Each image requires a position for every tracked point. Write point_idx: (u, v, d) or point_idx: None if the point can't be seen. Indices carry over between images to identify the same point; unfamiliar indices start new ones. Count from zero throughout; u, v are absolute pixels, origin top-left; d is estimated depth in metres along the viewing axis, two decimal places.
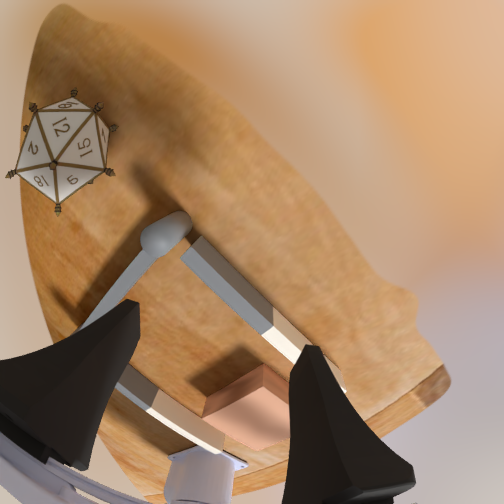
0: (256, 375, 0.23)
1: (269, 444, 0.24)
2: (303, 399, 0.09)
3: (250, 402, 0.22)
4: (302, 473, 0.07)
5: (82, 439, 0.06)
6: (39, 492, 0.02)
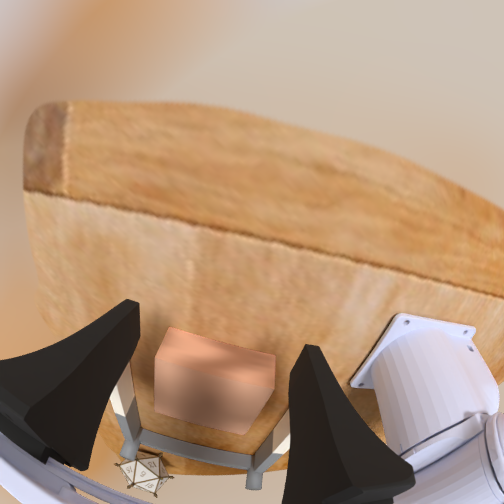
0: None
1: (241, 385, 0.16)
2: (303, 399, 0.09)
3: (180, 414, 0.19)
4: (302, 473, 0.07)
5: (82, 439, 0.06)
6: (39, 492, 0.02)
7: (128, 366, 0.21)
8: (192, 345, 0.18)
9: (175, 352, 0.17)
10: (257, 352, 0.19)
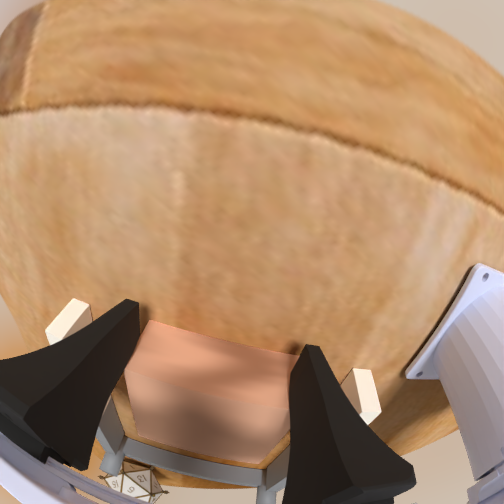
0: None
1: (255, 407, 0.10)
2: (303, 399, 0.09)
3: (171, 441, 0.13)
4: (302, 473, 0.07)
5: (82, 439, 0.06)
6: (39, 492, 0.02)
7: None
8: (179, 350, 0.12)
9: (154, 360, 0.11)
10: (276, 357, 0.13)
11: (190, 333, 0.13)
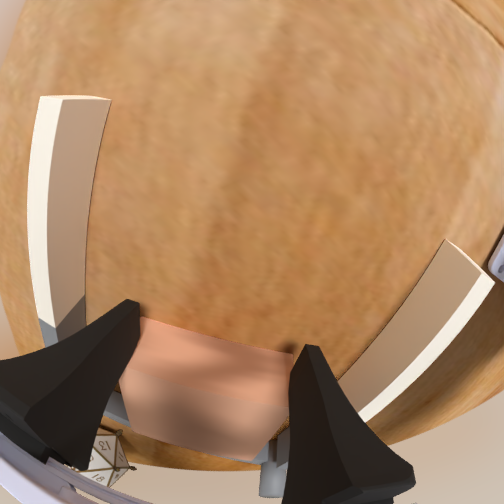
0: None
1: (244, 403, 0.10)
2: (303, 399, 0.09)
3: (164, 437, 0.13)
4: (302, 473, 0.07)
5: (82, 439, 0.06)
6: (39, 492, 0.02)
7: (86, 200, 0.10)
8: (170, 345, 0.12)
9: (145, 354, 0.11)
10: (266, 353, 0.13)
11: (181, 329, 0.13)
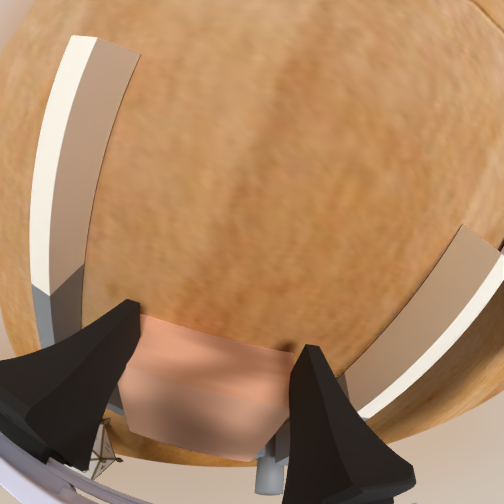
0: None
1: (244, 403, 0.10)
2: (303, 399, 0.09)
3: (162, 437, 0.13)
4: (302, 473, 0.07)
5: (82, 439, 0.06)
6: (39, 492, 0.02)
7: (99, 156, 0.09)
8: (170, 344, 0.12)
9: (144, 353, 0.11)
10: (267, 353, 0.13)
11: (181, 327, 0.13)
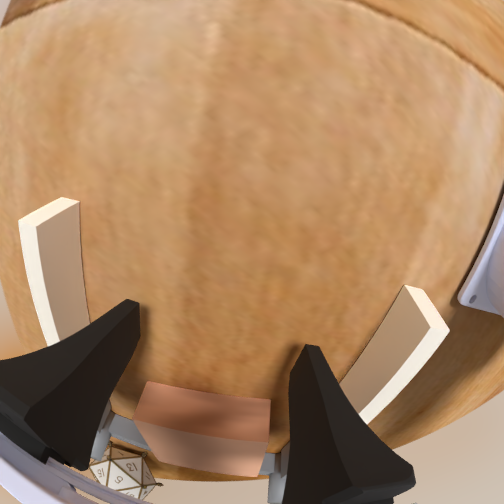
0: None
1: (229, 441, 0.13)
2: (303, 399, 0.09)
3: (184, 463, 0.16)
4: (302, 473, 0.07)
5: (82, 439, 0.06)
6: (39, 492, 0.02)
7: (80, 284, 0.12)
8: (172, 400, 0.15)
9: (154, 410, 0.14)
10: (248, 399, 0.15)
11: None
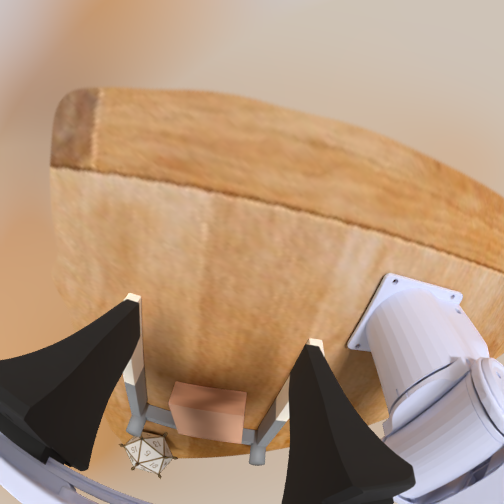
0: None
1: (223, 414, 0.25)
2: (303, 399, 0.09)
3: (195, 434, 0.28)
4: (302, 473, 0.07)
5: (82, 439, 0.06)
6: (39, 492, 0.02)
7: (140, 333, 0.24)
8: (190, 392, 0.26)
9: (180, 398, 0.26)
10: (234, 391, 0.27)
11: None
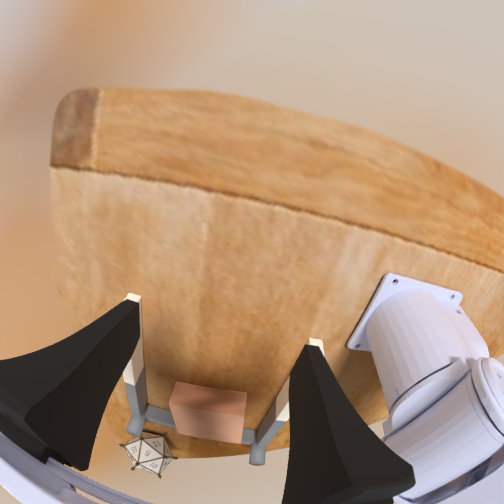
0: None
1: (223, 414, 0.25)
2: (303, 399, 0.09)
3: (194, 434, 0.28)
4: (302, 473, 0.07)
5: (82, 439, 0.06)
6: (39, 492, 0.02)
7: (140, 333, 0.24)
8: (191, 392, 0.26)
9: (181, 398, 0.26)
10: (234, 391, 0.27)
11: None
